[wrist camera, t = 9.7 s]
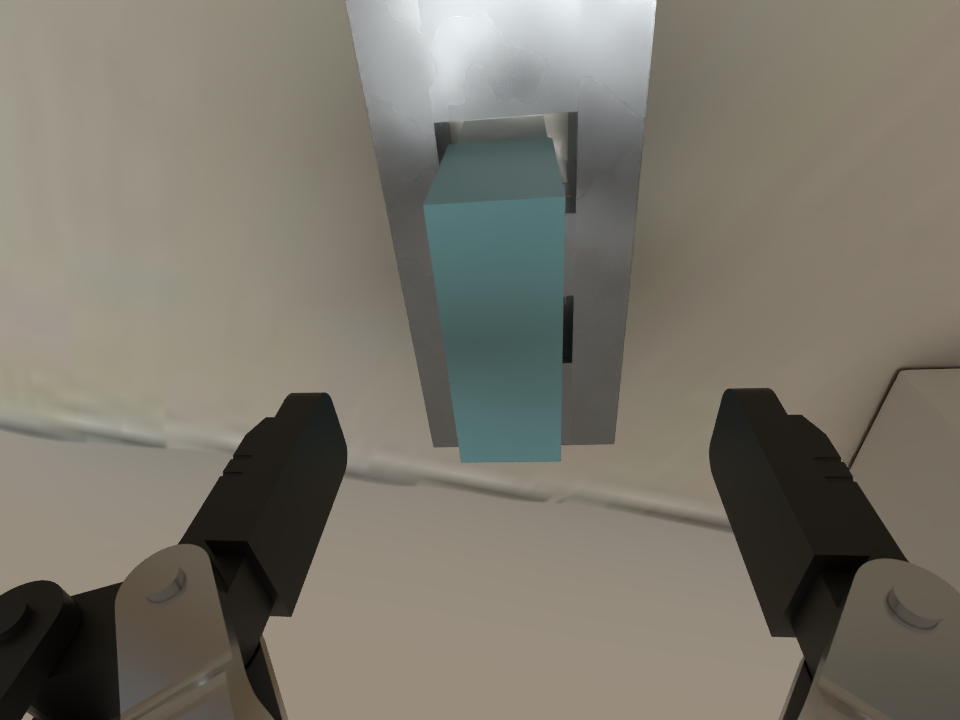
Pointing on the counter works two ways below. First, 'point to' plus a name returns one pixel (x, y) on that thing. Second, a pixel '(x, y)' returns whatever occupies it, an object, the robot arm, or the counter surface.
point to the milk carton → (918, 469)
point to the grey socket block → (568, 120)
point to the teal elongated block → (501, 287)
